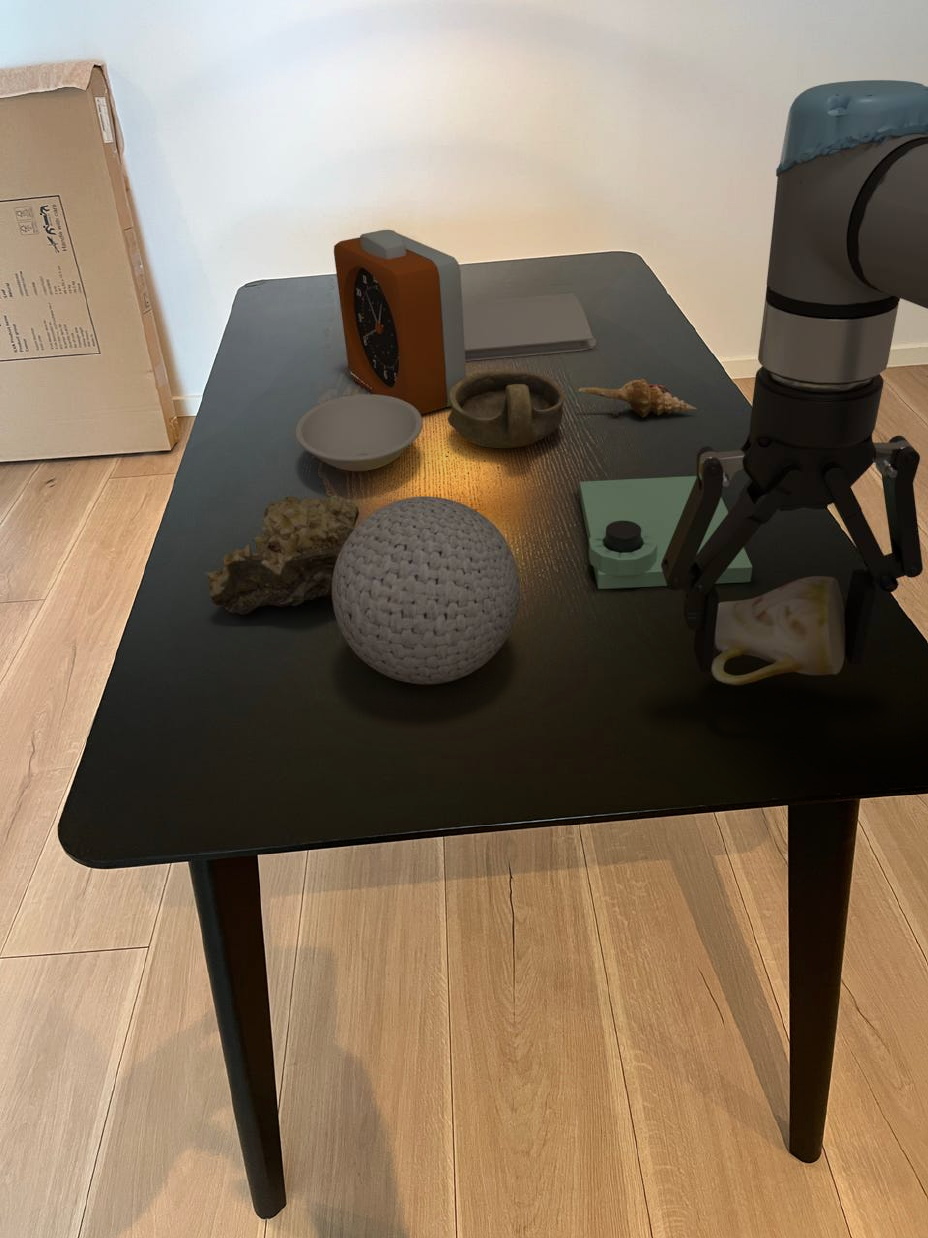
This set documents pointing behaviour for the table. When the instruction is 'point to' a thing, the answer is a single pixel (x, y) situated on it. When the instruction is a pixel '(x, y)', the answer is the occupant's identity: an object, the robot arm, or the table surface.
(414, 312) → the alarm clock
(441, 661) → the decorative ball
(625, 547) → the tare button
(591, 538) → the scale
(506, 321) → the book
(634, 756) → the table surface
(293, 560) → the mineral specimen
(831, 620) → the mug
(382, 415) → the dish
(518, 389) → the bowl
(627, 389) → the spiral seashell
